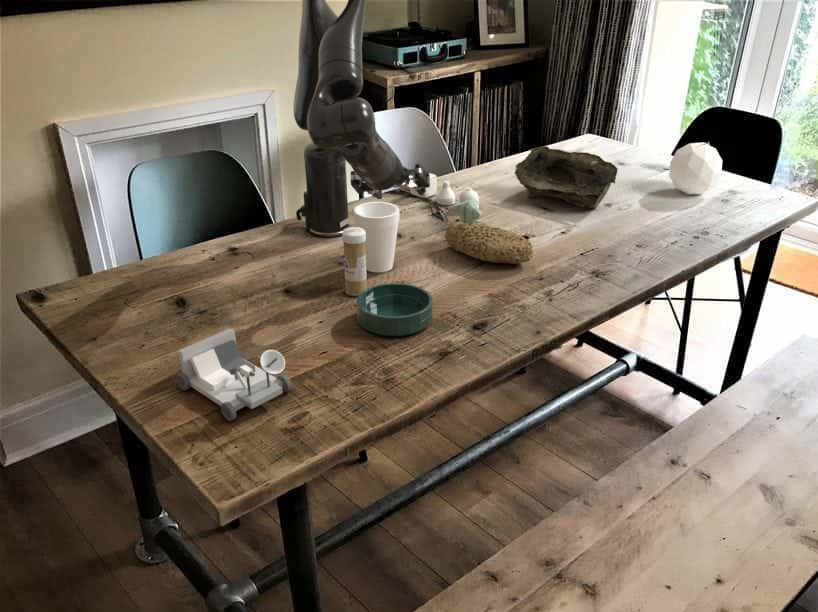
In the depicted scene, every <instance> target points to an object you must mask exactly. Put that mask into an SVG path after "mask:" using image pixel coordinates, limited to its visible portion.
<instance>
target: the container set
mask: <svg viewBox="0 0 818 612" xmlns="http://www.w3.org/2000/svg"><path fill="white" fill-rule="evenodd" d="M428 173H429V174H430V187H428V188H426V192H425V193H424V195H419V194H418V192H417V191H416V190H415V189H413V188H410V189H409V190H410V194H411V195H413V196H416V197H419V198H424V199H427V198H429V197H431V196H433V195H435V198H436V199H435V202H436V204H438V205H442V206H451V205H455V203H456V195H455V193H454V191H453V190H452V188H451V187H450V181H449V180H443V181H442V186H441V188H440V190H438V191H437V189H438V187H437V186H438V183H437V182H438V176H437V175H436V174H435V173H430V172H428ZM413 183H414V184H415V179H413ZM478 194H479V193H477V192H476V191H475V190H474V189H472V188H471V187H467V189H464V190H463V191H462V192H460V194H459V197H458V201H459V203H458V204H460V203H463V202H465V201H467V200H472V201H474V202H475V203H476V204H477V206H478V208H479V209H480V206H479V202H480V201H479V200H480V199H479V197H480V196H479V195H478Z"/></svg>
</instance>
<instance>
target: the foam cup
mask: <svg viewBox="0 0 818 612" xmlns="http://www.w3.org/2000/svg"><path fill="white" fill-rule="evenodd" d="M353 221H354V223H355V227H359V228H362V229H364V230H365V233H366V240H365V253H366V272H367V271H368V272H370V273H385V272H389V271H390V270H392V269H393V267H394V262H395V252H396V246H397V245H396V244H397V235H398V227H399V222H400V208H399V207H398V206H397V205H395V204H393V203H390V202H385V201H369V202H368V201H367V202H364V203H360V204H359V205H356V206H355V207H354V209H353Z"/></svg>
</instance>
